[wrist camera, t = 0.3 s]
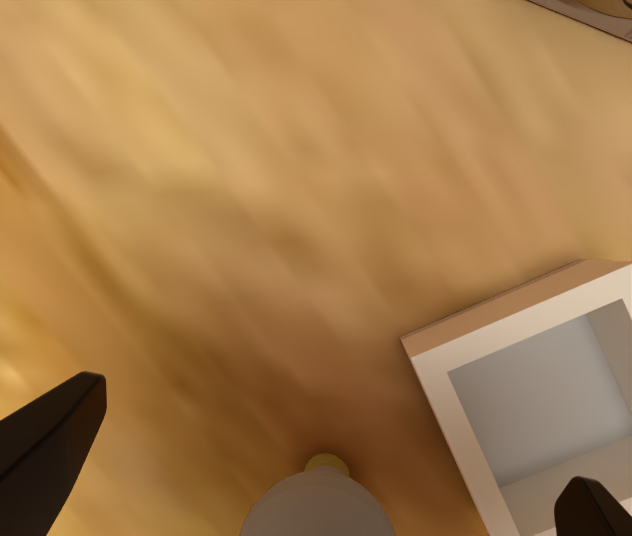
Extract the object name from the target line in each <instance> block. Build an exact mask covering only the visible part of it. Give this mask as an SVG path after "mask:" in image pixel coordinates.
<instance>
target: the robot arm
mask: <svg viewBox="0 0 632 536" xmlns="http://www.w3.org/2000/svg"><path fill="white" fill-rule="evenodd" d="M106 408H107V395H106V379H105V377H104V376H103V375H102V374H97V373H92V372H87V371H83V372H80V373H78V374H76V375H75V376H73V377H71V378H70V379H68V380H67V381H65V382H63V383H62V384H60V385H58V386H57V387H55V388H53V389H52V390H50V391H48V392H47V393H45V394H43V395H42V396H40V397H38V398H37V399H35V400H33V401H32V402H30V403H28V404H27V405H25V406H24V407H22V408H20V409H19V410H17V411H15V412H14V413H12V414H10V415H9V416H7V417H5V418H4V419H2V420H0V536H46V535H47V533H48V532H49V530H50V528H51V526H52V525H53V523H54V521H55V520H56V518H57V516H58V514H59V513H60V511H61V509H62V507H63V506H64V504H65V502H66V500H67V498H68V497H69V495H70V493H71V491H72V488H73V486H74V484H75V482H76V480H77V478H78V475H79V473H80V471H81V469H82V466H83V464H84V462H85V460H86V457H87V455H88V453H89V451H90V448H91V446H92V444H93V442H94V439H95V437H96V435H97V433H98V430H99V428H100V426H101V423H102V421H103V419H104V416H105V413H106ZM554 519H555V527H556V535H557V536H632V516H631V515H630V514H629V513H628V512H627V511H626V510H625V508H624V507H623V506H622V505H621V504H620V503H619V502H618V501H617V500H616V499H615V498H614V497H613V496H612V494H611V493H610V492H609V491H608V490H607V489H606V488H605V487H604V486H603V485H602V484H601V483H600V482H599V481H597V480H595V479H591V478H587V477H582V476H575V477H573V478H572V479H571V480H570V481H569V483H568V484H567V485H566V487H565V488H564V490H563V491H562V493H561V494H560V496H559V497H558V498H557V500H556V502H555V506H554Z"/></svg>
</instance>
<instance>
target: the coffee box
mask: <svg viewBox="0 0 632 536" xmlns="http://www.w3.org/2000/svg"><path fill="white" fill-rule="evenodd" d="M529 1H532V2H534V3H537V4H539V5H542V6H544V7H546V8H549V9H551V10H554V11H556V12H559V13H561V14H564V15H566V16H569V17H571V18H574V19H576V20H579V21H581V22H584V23H586V24H589V25H591V26H594V27H596V28H599V29H601V30H604V31H606V32H609V33H611V34H613V35H616V36H618V37H621V38H623V39H626V40H628V41H631V42H632V0H529Z"/></svg>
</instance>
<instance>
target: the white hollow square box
mask: <svg viewBox="0 0 632 536" xmlns="http://www.w3.org/2000/svg"><path fill="white" fill-rule="evenodd" d="M400 340H401V342H402V344H403V346H404V349H405V351H406V353H407V355H408V357H409V360H410V362H411V364H412V366H413V369H414V371H415V373H416V375H417V377H418V380H419V382H420V384H421V386H422V389H423V391H424V393H425V395H426V398H427V400H428V402H429V404H430V406H431V409H432V411H433V413H434V415H435V418H436V420H437V422H438V424H439V426H440V429H441V431H442V433H443V435H444V438H445V440H446V442H447V444H448V446H449V449H450V451H451V453H452V455H453V458H454V460H455V462H456V464H457V467H458V469H459V471H460V473H461V475H462V478H463V480H464V482H465V484H466V487H467V489H468V491H469V493H470V495H471V498H472V500H473V502H474V504H475V507H476V509H477V511H478V513H479V515H480V517H481V519H482V522H483V524H484V526H485V528H486V530H487V532H488V534H489V536H557V535H556V527H555V519H554V506H555V502H556V500H557V498H558V497H559V496H560V494H561V493H562V491H563V490H564V488H565V487H566V485H567V484H568V483H569V481H570V480H571V479H572V478H573V477H575V476H582V477H587V478H591V479H595V480H597V481H599V482H600V483H601V484H602V485H603V486H604V487H605V488H606V489H607V490H608V491H609V492H610V493H611V494H612V496H613V497H614V498H615V499H616V500H617V501H618V502H619V503H620V504H621V505H622V506H623V507H624V508H625V510H626V511H627V512H628V513H629V514H630V515H631V516H632V261H610V260H577V261H575V262H573V263H570V264H568V265H566V266H563V267H561V268H559V269H556V270H554V271H552V272H549V273H547V274H545V275H542V276H540V277H538V278H536V279H533V280H531V281H529V282H526V283H524V284H522V285H519V286H517V287H515V288H512V289H510V290H508V291H505V292H503V293H501V294H498V295H496V296H494V297H491V298H489V299H487V300H485V301H482V302H480V303H478V304H475V305H473V306H471V307H468V308H466V309H464V310H461V311H459V312H457V313H454V314H452V315H450V316H447V317H445V318H443V319H440V320H438V321H436V322H433V323H431V324H429V325H427V326H424V327H422V328H420V329H417V330H415V331H413V332H410V333H408V334H406V335H403V336H401V337H400Z"/></svg>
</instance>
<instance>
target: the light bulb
mask: <svg viewBox="0 0 632 536" xmlns="http://www.w3.org/2000/svg"><path fill="white" fill-rule="evenodd" d="M240 536H396V534H395V531H394V528H393V526H392V524H391V522H390V520H389V518H388V516H387V514H386V513H385V511H384V510H383V508H382V506H381V505H380V503H379V502H378V501H377V499H376V498H375V497H374V496H373V495H372V494H371V493H370V492H369V491H368V490H367V489H366V488H365V487H364V486H362V485H361V484H359V483H358V482H356V481H354V480H353V479H351V478H350V473H349V469H348V467H347V465H346V464H345V462H344V461H343V460H342V459H341V458H339V457H338V456H336V455H333V454H329V453H322V454H318V455H315V456H314V457H312V458H311V459H310V460H309V461H308V462H307V464H306V466H305V469H304V472H301V473H297V474H294V475H291V476H288V477H286V478H284V479H282V480H281V481H279V482H278V483H276V484H275V485H274V486H272V487H271V488H270V489H269V490H268V491H267V492H266V493H265V494H264V495H263V496H262V497H261V498H260V499H259V500H258V501H257V502H256V503H255V504H254V506H253V507H252V509H251V510H250V512H249V514H248V515H247V517H246V519H245V522H244V524H243V527H242V530H241V533H240Z"/></svg>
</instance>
